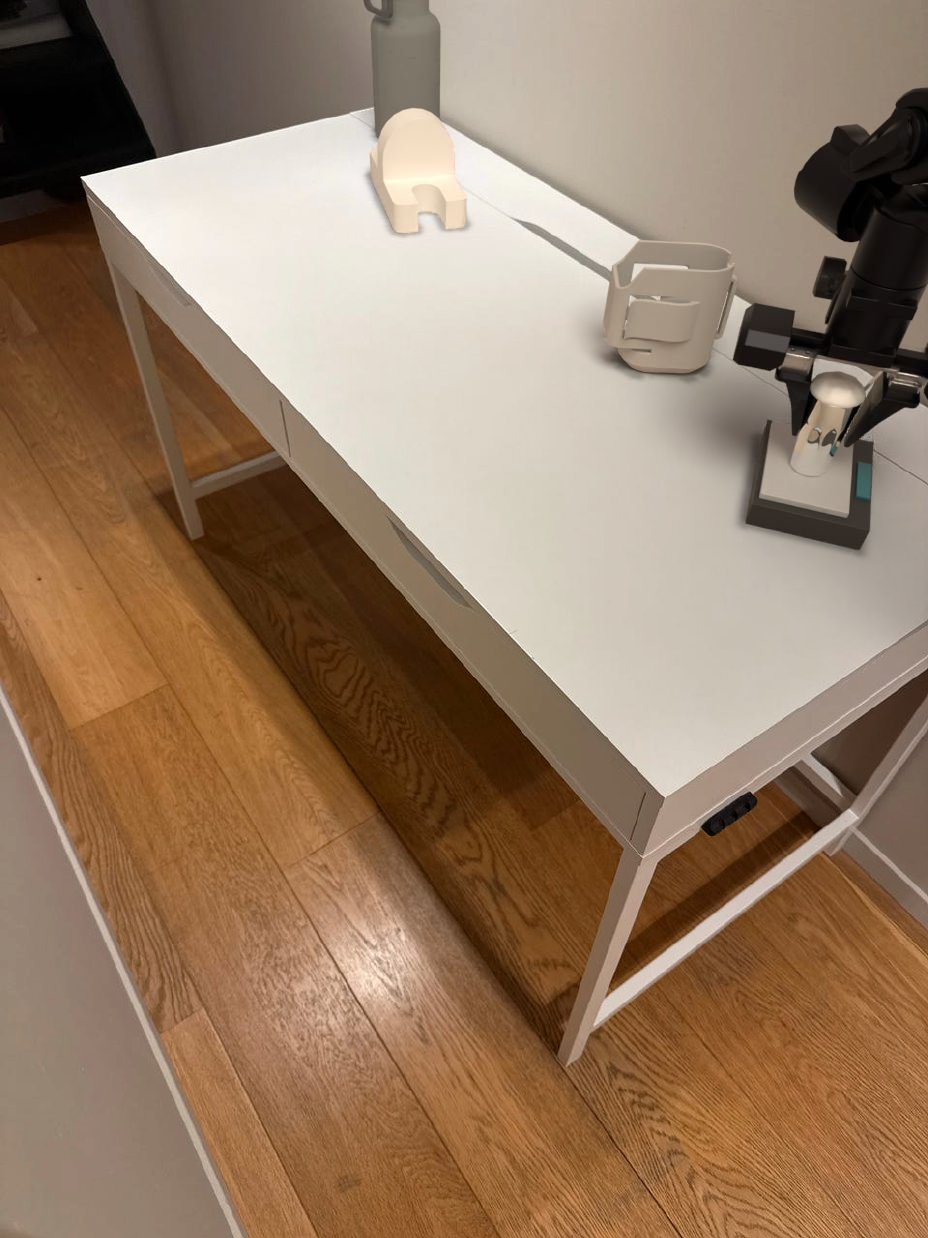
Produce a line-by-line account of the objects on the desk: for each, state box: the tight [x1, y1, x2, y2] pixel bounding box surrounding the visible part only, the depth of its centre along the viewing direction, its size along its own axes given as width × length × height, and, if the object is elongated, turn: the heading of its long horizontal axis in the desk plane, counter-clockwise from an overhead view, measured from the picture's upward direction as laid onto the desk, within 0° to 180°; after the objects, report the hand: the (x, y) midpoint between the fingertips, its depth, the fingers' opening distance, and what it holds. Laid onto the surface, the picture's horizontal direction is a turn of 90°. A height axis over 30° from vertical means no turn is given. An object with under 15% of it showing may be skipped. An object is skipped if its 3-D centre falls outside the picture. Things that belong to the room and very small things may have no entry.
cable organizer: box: [602, 239, 739, 374], centre depth 91 cm, size 7×12×12 cm, turn 88°
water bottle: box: [363, 0, 442, 137], centre depth 123 cm, size 10×10×28 cm
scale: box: [745, 419, 875, 551], centre depth 81 cm, size 10×13×3 cm
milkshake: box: [790, 370, 883, 476], centre depth 77 cm, size 4×5×10 cm
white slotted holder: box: [368, 108, 468, 234], centre depth 116 cm, size 10×18×11 cm, turn 15°
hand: (820, 438), depth 78 cm, fingers closed on milkshake, 4 cm apart
